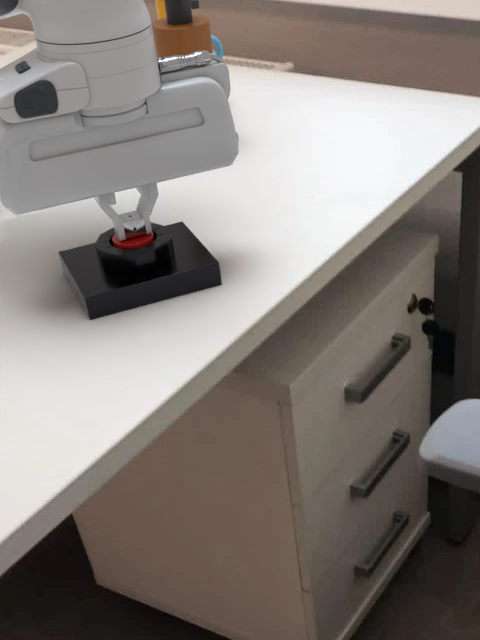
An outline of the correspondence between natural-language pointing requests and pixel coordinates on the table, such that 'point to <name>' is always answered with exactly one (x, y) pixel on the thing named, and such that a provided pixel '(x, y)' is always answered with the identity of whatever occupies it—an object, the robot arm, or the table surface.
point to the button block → (139, 270)
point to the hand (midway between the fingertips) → (134, 235)
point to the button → (133, 242)
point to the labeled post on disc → (181, 30)
